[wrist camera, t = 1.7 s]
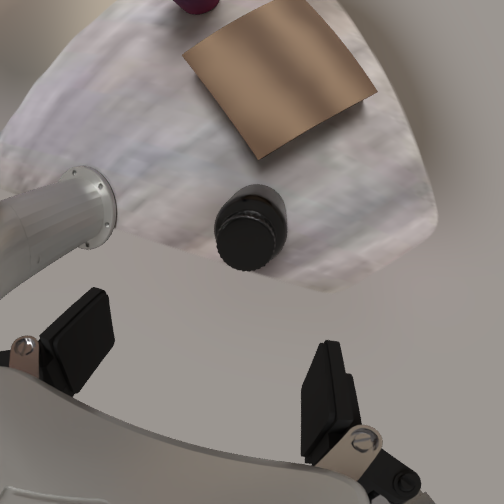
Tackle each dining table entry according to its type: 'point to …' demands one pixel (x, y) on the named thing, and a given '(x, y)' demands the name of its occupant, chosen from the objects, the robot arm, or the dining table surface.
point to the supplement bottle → (251, 227)
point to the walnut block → (279, 73)
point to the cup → (197, 5)
